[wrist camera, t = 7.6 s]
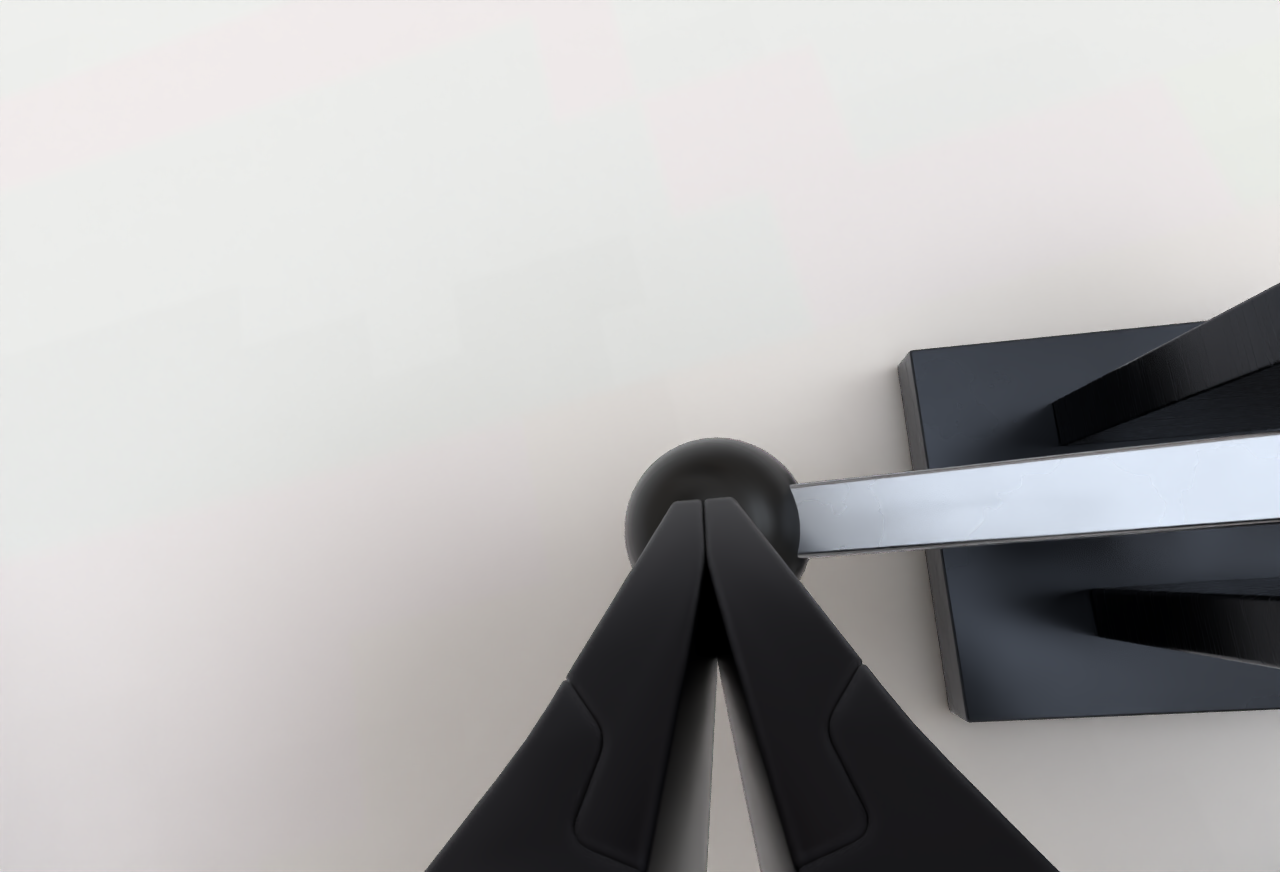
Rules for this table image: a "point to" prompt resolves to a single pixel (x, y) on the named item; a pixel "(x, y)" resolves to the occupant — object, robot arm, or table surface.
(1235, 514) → the ball knob lever
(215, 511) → the table surface
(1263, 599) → the dark grey lever base
